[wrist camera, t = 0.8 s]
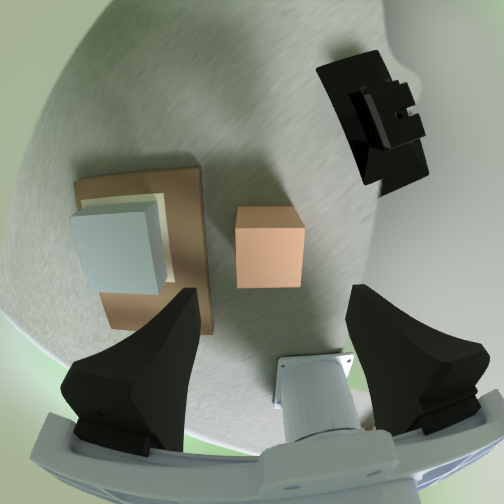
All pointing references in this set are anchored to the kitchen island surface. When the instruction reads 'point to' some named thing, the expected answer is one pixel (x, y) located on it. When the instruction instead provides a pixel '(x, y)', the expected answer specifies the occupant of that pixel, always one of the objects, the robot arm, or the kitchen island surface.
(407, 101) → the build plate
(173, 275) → the build board
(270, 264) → the top block
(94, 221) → the base block
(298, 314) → the kitchen island surface
